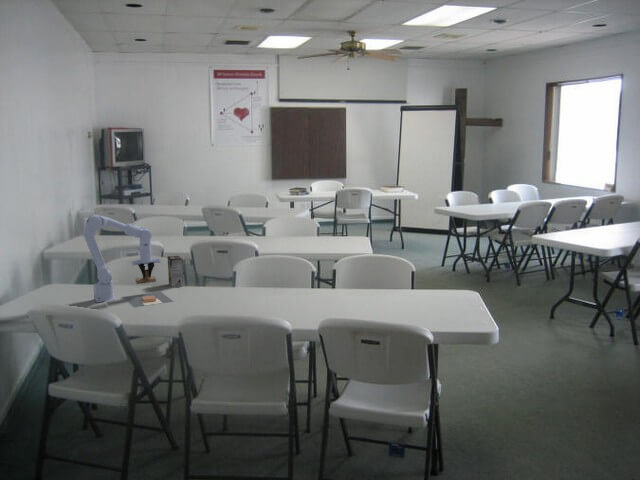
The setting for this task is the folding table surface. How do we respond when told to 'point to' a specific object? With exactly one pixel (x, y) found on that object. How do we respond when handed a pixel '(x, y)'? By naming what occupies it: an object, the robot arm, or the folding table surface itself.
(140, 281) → the brown t-shaped block
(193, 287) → the folding table surface
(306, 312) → the folding table surface
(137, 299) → the slate board
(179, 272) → the coffee box
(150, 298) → the tile
